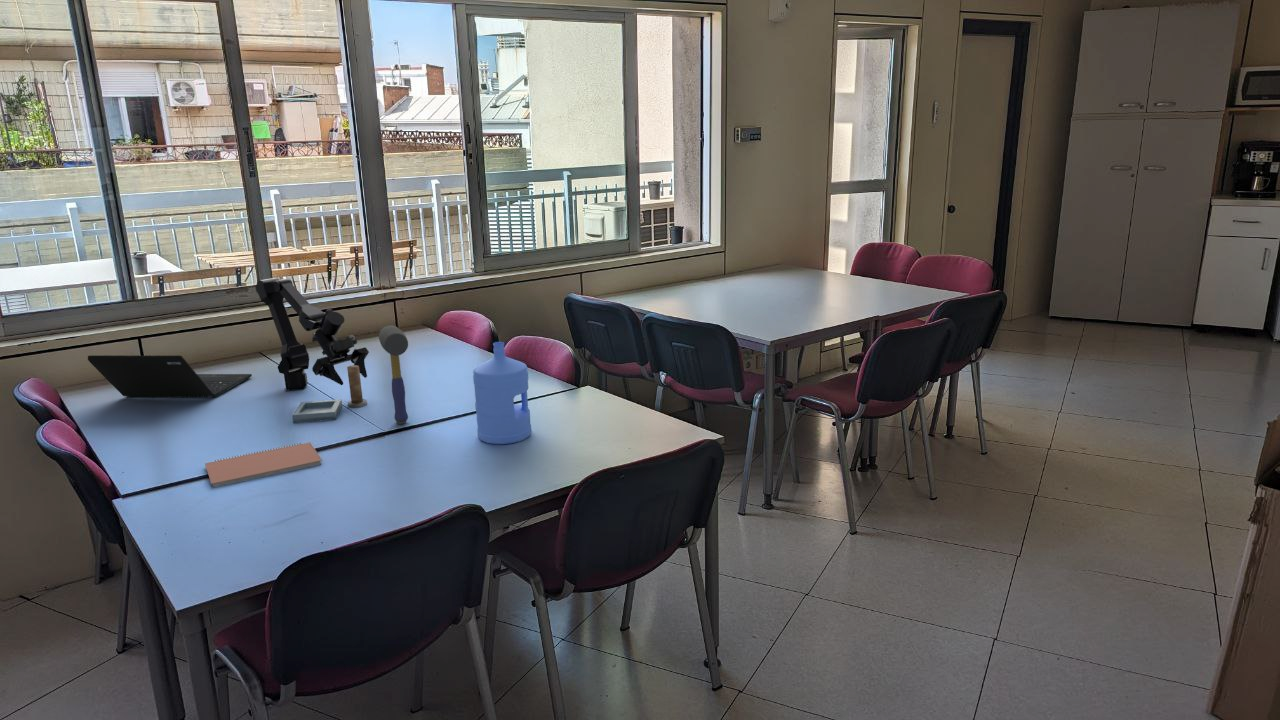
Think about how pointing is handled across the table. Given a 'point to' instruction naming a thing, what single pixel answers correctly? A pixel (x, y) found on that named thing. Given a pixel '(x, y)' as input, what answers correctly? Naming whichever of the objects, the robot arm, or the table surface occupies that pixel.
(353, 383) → the wooden post on disc
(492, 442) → the water jug
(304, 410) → the tray
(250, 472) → the notebook
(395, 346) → the rubber mallet
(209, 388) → the laptop
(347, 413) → the table surface
